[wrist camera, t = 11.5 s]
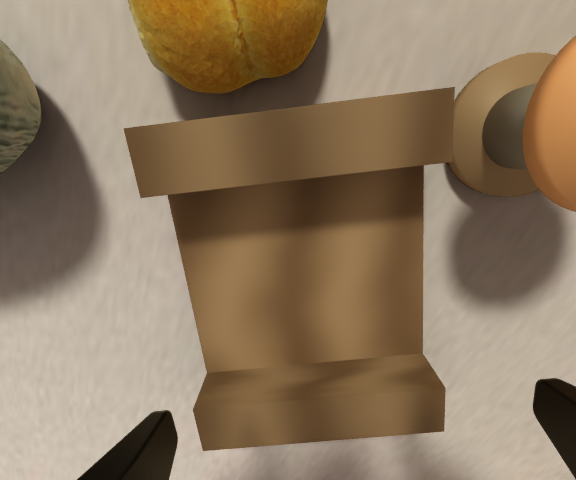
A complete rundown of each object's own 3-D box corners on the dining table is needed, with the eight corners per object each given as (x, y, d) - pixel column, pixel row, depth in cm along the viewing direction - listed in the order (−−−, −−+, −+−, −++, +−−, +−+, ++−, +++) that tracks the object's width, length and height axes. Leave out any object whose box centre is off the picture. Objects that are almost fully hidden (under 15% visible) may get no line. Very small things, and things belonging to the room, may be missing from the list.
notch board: (416, 102, 16) (454, 87, 13) (416, 380, 21) (444, 431, 17) (161, 134, 17) (123, 128, 13) (218, 398, 22) (203, 450, 18)
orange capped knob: (583, 50, 16) (804, -28, 9) (565, 187, 18) (736, 208, 11) (444, 68, 16) (558, 5, 9) (442, 200, 18) (534, 229, 11)
